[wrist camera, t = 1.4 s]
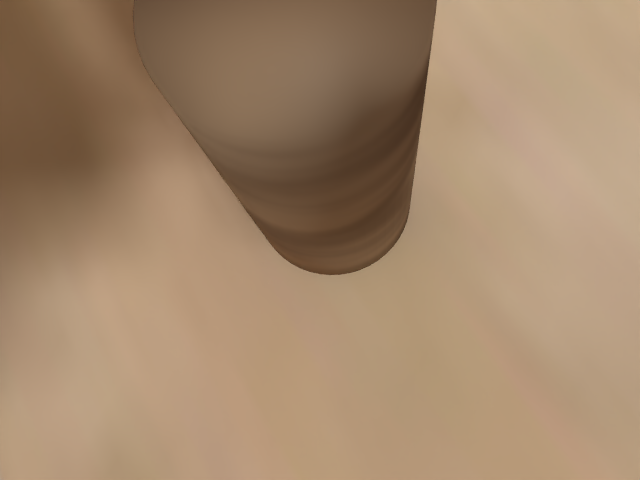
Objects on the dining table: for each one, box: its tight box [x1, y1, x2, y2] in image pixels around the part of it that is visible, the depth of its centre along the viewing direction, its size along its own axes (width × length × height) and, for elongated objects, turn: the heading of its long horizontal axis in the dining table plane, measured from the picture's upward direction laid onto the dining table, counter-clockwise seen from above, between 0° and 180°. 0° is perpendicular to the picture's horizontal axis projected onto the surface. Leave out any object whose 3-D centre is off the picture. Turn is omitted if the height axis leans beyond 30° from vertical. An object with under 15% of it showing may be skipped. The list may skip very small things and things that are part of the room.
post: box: [133, 0, 437, 275], centre depth 16 cm, size 6×6×12 cm
